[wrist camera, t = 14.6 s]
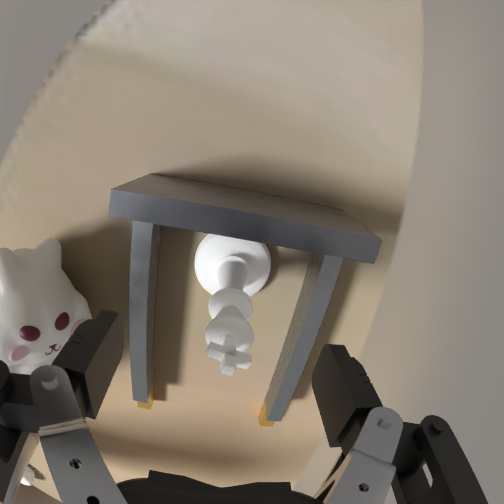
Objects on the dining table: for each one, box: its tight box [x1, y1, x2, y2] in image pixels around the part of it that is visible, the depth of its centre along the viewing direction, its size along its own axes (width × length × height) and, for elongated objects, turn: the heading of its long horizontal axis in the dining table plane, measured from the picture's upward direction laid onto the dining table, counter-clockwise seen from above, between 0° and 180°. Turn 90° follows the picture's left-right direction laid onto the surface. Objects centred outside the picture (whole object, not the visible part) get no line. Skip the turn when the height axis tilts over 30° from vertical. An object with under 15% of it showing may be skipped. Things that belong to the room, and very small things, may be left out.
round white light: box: [20, 466, 35, 486], centre depth 32 cm, size 10×10×4 cm
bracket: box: [109, 174, 382, 426], centre depth 18 cm, size 12×20×6 cm, turn 169°
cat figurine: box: [0, 238, 92, 375], centre depth 16 cm, size 10×8×15 cm
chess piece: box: [195, 234, 271, 376], centre depth 15 cm, size 5×5×10 cm
